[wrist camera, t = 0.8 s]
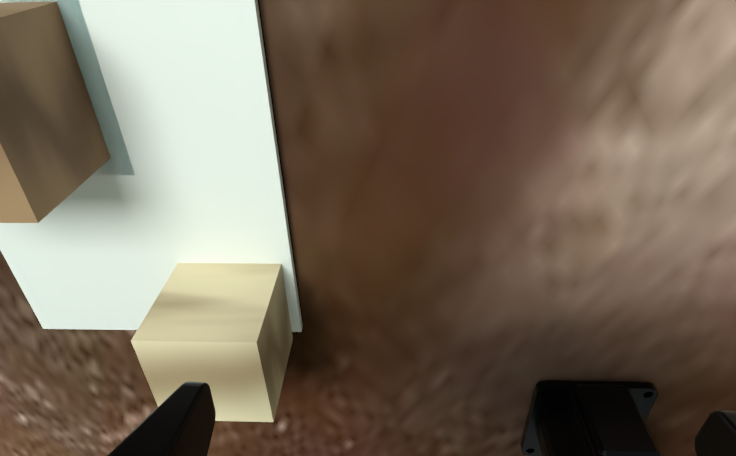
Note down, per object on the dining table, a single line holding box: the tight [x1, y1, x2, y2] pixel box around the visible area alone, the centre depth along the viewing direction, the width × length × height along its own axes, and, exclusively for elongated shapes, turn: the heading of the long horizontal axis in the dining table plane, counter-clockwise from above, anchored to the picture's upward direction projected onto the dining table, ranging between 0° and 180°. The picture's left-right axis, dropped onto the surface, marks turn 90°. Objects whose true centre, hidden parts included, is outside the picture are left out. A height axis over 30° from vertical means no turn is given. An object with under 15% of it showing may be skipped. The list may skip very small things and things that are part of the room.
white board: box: [0, 0, 303, 332], centre depth 21 cm, size 17×14×1 cm
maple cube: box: [131, 263, 293, 422], centre depth 22 cm, size 5×5×5 cm
